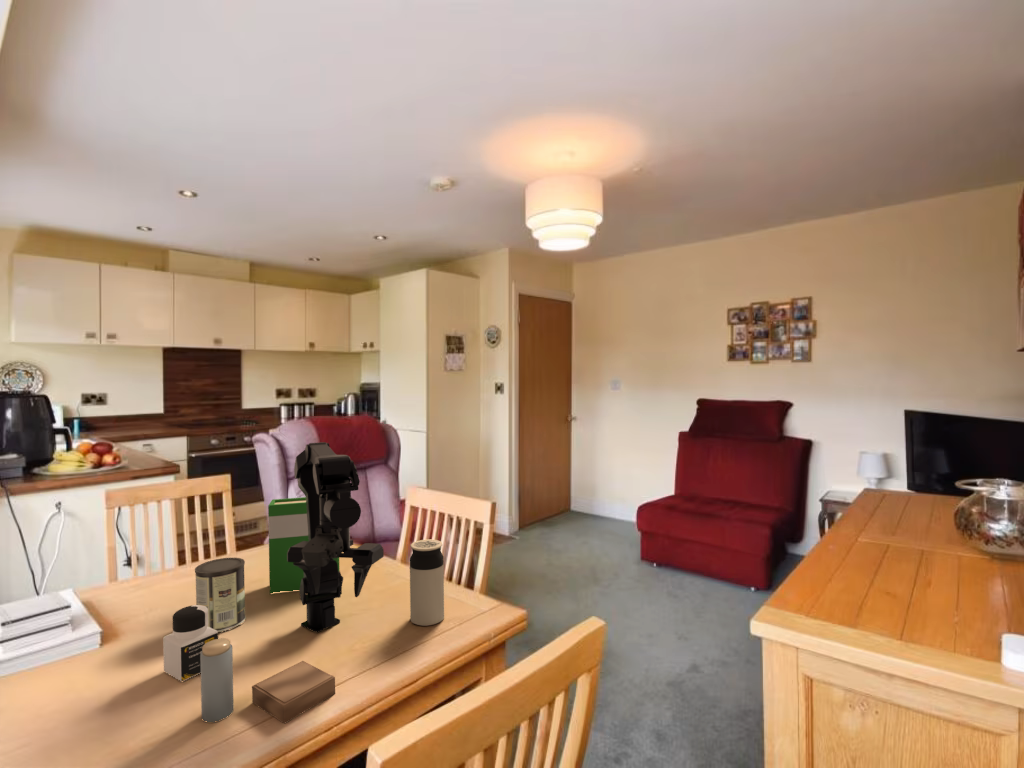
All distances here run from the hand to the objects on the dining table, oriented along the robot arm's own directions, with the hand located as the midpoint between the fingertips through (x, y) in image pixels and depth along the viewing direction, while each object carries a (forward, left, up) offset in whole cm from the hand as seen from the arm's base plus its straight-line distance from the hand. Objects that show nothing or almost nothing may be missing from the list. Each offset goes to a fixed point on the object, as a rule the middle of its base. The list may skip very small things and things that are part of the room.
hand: (336, 595), depth 106 cm
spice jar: (-3, -22, -14) cm, 26 cm away
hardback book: (-41, +20, -14) cm, 48 cm away
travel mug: (+2, +24, -14) cm, 28 cm away
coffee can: (-37, -5, -14) cm, 40 cm away
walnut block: (+4, -12, -14) cm, 19 cm away
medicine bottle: (-22, -18, -14) cm, 32 cm away
